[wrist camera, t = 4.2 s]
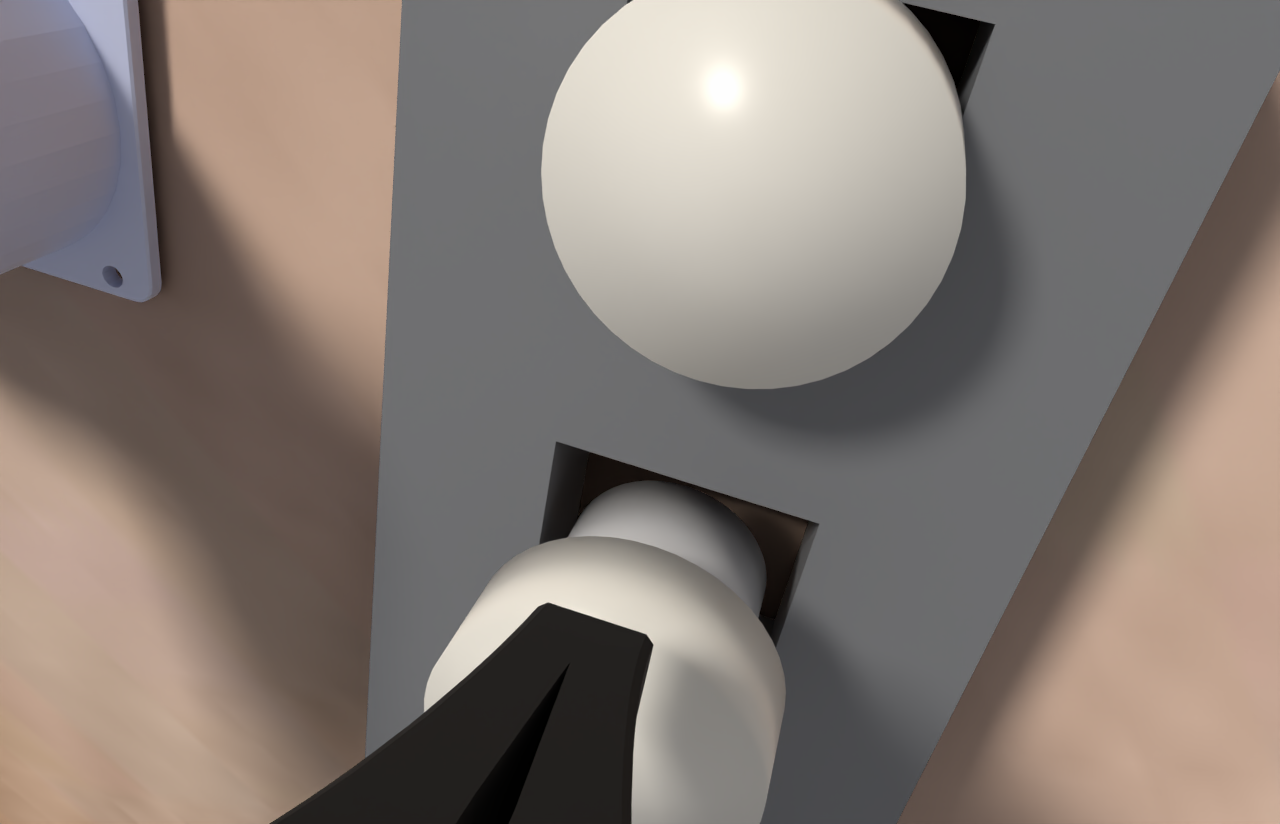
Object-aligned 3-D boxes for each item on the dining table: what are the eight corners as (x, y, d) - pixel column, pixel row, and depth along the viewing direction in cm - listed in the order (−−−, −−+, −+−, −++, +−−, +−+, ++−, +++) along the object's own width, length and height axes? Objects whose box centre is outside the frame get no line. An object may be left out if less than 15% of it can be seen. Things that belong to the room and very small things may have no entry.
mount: (412, 762, 29) (360, 848, 26) (495, -184, 16) (412, -193, 14) (811, 910, 27) (797, 1018, 24) (1249, -18, 14) (1313, 5, 12)
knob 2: (520, 622, 21) (413, 807, 17) (553, 407, 18) (436, 566, 14) (768, 708, 21) (720, 923, 16) (844, 497, 18) (810, 694, 13)
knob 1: (615, 225, 19) (518, 327, 15) (672, -94, 16) (571, -83, 12) (900, 304, 18) (885, 436, 14) (1014, -17, 15) (1039, 26, 11)
